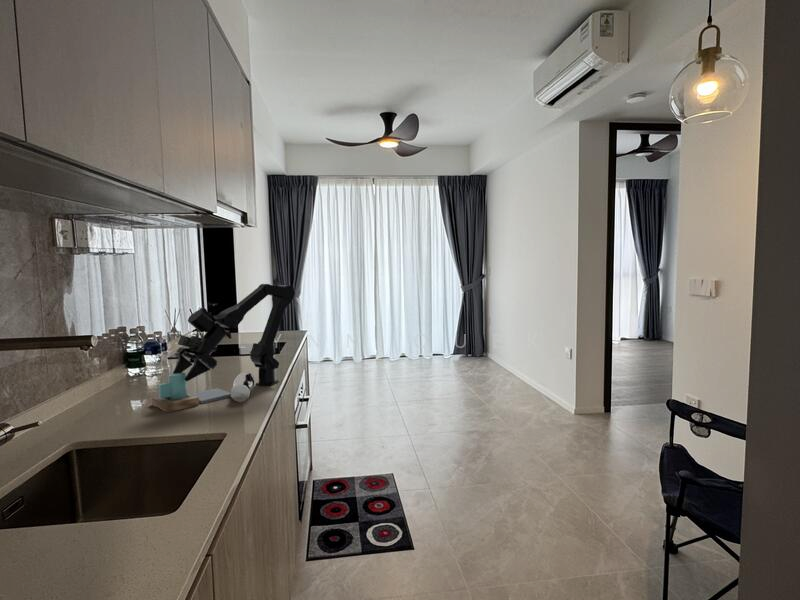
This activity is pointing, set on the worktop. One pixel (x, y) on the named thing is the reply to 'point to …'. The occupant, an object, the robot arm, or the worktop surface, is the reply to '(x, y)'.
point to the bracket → (174, 403)
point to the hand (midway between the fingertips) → (179, 378)
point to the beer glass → (242, 387)
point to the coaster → (210, 395)
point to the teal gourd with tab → (174, 387)
